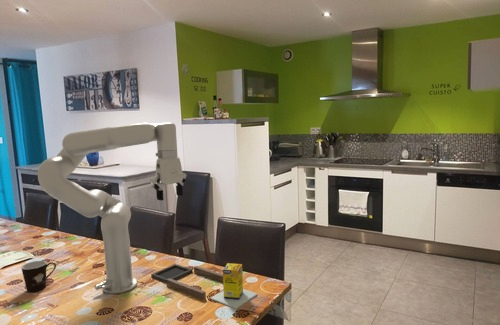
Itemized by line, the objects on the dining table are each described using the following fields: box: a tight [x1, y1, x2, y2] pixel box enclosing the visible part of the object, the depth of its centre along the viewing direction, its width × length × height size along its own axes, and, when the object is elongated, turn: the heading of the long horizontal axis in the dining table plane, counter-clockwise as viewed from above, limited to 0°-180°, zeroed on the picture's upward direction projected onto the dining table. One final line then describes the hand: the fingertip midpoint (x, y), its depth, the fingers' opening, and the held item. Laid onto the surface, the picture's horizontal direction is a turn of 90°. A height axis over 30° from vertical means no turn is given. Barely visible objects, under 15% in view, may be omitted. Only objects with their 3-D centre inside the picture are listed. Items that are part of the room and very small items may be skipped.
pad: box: [210, 288, 258, 310], centre depth 129 cm, size 12×12×1 cm
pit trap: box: [151, 263, 193, 284], centre depth 151 cm, size 13×11×1 cm
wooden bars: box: [166, 265, 223, 301], centre depth 140 cm, size 16×20×2 cm
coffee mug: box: [20, 260, 57, 294], centre depth 142 cm, size 12×9×10 cm
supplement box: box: [222, 262, 244, 300], centre depth 129 cm, size 6×6×11 cm
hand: (170, 197), depth 141 cm, fingers open, 9 cm apart
